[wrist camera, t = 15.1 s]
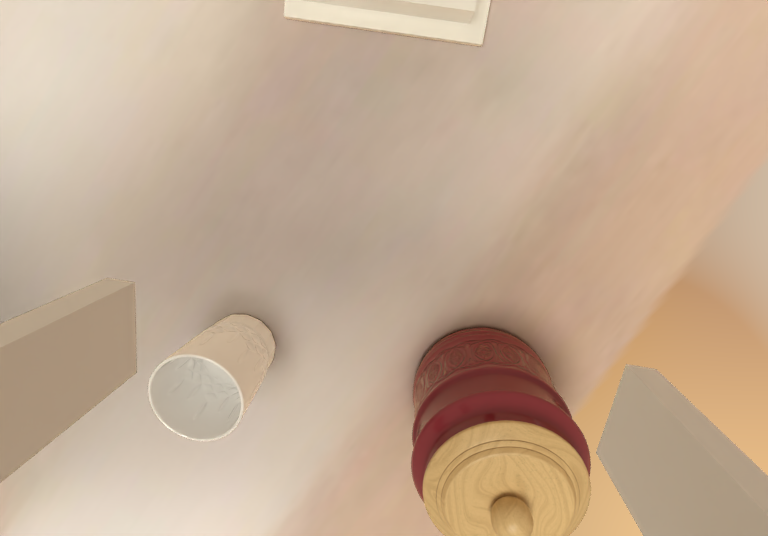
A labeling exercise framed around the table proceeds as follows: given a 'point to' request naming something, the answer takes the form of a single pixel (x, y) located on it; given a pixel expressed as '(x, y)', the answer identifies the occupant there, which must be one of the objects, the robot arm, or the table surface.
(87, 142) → the table surface
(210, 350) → the white cup
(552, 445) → the canister
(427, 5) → the white square tray
